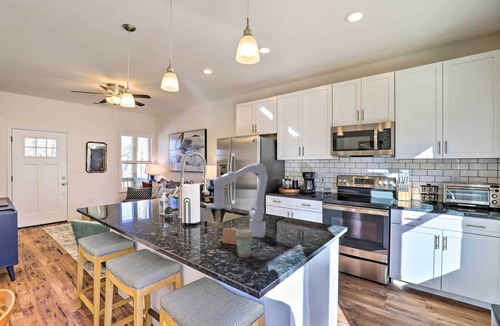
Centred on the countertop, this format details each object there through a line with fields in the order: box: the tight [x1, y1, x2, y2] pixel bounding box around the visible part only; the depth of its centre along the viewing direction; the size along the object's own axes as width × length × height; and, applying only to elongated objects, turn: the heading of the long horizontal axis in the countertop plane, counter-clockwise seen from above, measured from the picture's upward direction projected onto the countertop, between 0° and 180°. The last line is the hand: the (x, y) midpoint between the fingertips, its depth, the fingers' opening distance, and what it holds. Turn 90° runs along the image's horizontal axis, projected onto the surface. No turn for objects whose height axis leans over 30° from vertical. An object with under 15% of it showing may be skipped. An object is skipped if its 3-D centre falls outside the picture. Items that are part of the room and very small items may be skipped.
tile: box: [222, 227, 238, 246], centre depth 133 cm, size 8×2×8 cm, turn 75°
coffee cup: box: [235, 227, 253, 259], centre depth 117 cm, size 9×8×12 cm
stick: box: [214, 209, 223, 230], centre depth 140 cm, size 3×3×10 cm
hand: (218, 221), depth 140 cm, fingers closed on stick, 3 cm apart
